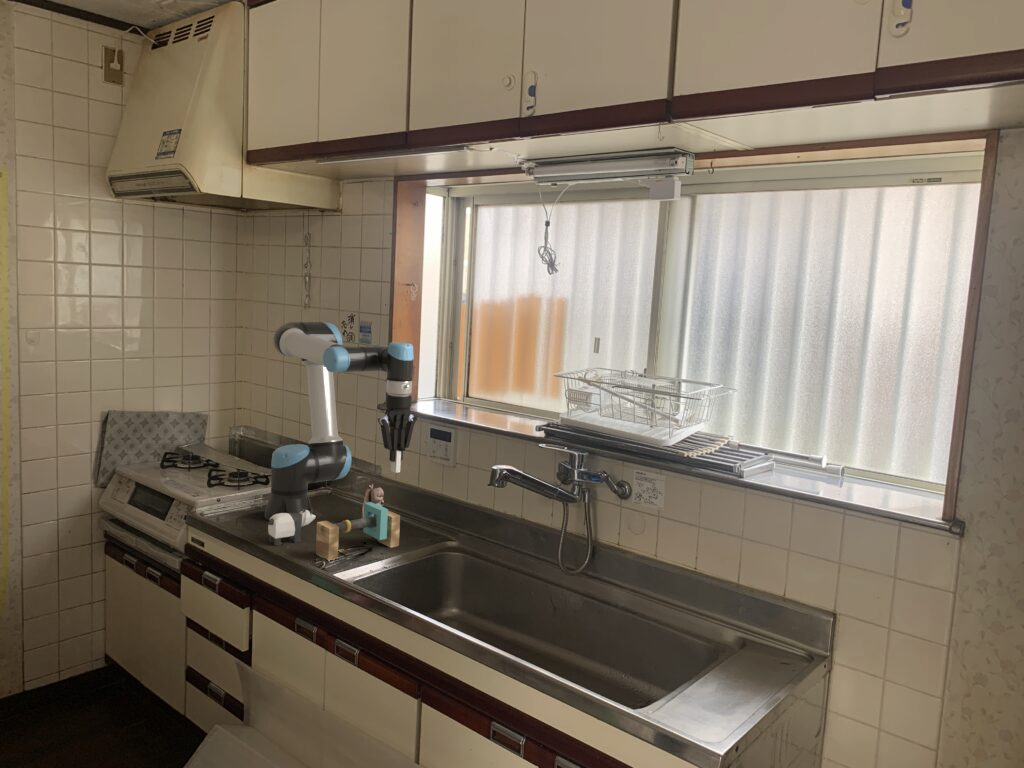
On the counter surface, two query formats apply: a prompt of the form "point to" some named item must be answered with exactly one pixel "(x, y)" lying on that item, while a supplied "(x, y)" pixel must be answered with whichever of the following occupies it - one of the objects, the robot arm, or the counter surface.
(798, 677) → the counter surface
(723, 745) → the counter surface
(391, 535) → the pipe stand
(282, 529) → the giant panda
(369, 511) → the collar
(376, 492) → the toy
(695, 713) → the counter surface
